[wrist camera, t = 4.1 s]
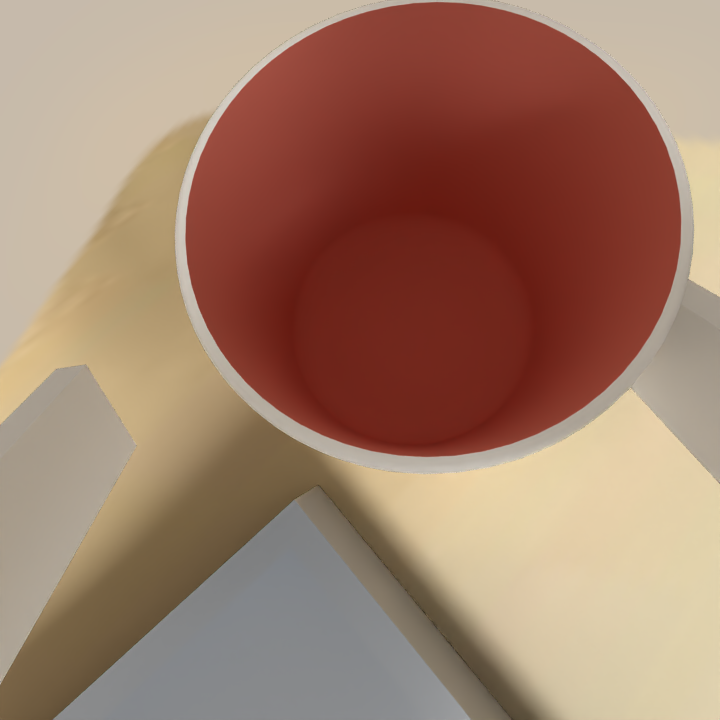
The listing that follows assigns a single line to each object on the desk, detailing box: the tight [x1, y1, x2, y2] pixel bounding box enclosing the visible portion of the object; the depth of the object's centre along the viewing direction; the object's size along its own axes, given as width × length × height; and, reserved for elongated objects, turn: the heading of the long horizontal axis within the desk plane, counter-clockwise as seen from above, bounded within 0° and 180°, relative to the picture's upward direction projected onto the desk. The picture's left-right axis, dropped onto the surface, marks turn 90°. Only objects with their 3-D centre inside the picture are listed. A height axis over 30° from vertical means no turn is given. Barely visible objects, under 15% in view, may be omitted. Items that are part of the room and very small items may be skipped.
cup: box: [175, 0, 694, 474], centre depth 13 cm, size 10×10×10 cm
